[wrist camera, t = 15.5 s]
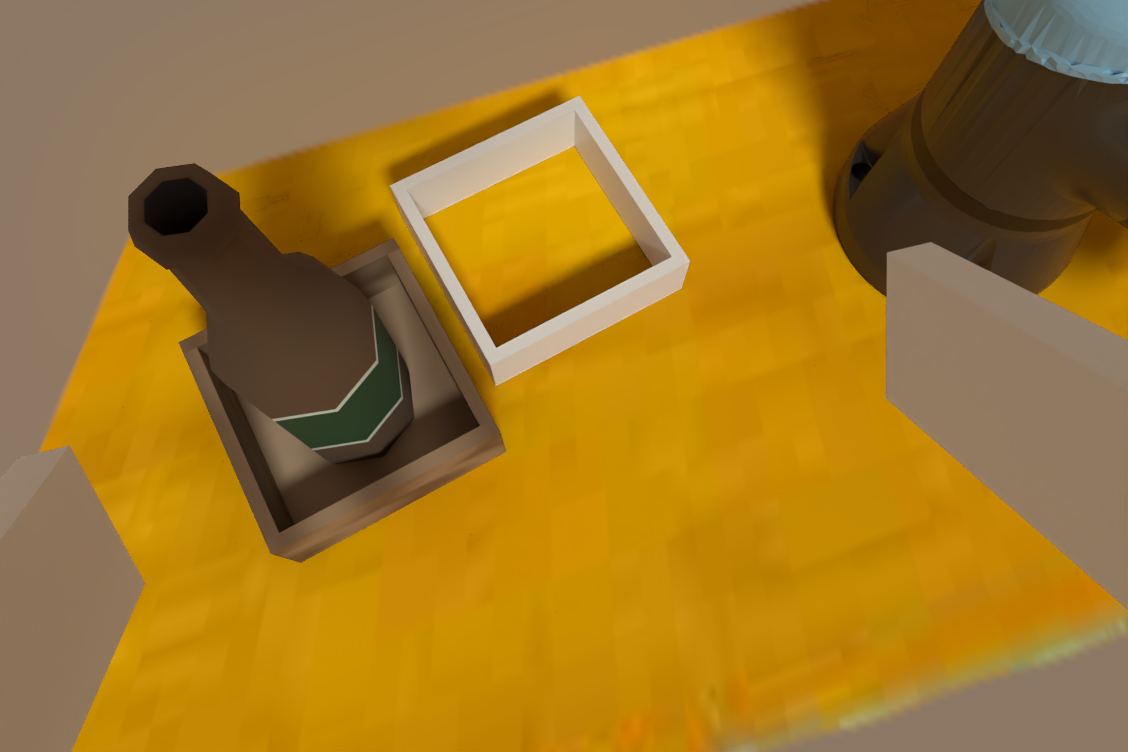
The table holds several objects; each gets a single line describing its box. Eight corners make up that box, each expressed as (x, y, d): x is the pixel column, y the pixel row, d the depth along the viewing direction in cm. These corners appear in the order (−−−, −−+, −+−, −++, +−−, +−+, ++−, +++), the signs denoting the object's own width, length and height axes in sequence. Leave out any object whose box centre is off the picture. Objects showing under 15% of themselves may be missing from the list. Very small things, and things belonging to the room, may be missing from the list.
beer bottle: (398, 482, 48) (244, 337, 25) (273, 452, 48) (11, 285, 26) (434, 360, 50) (324, 127, 27) (315, 334, 51) (109, 83, 28)
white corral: (578, 132, 56) (579, 95, 53) (681, 288, 53) (690, 261, 49) (402, 217, 54) (389, 185, 51) (496, 386, 51) (490, 365, 47)
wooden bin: (409, 274, 53) (393, 238, 48) (506, 451, 49) (499, 431, 45) (214, 370, 51) (178, 342, 46) (300, 562, 47) (270, 553, 43)
